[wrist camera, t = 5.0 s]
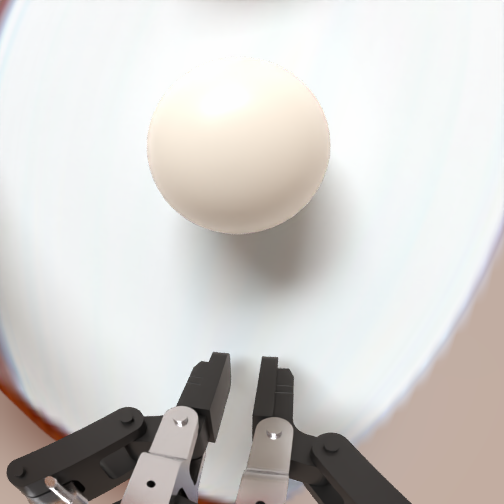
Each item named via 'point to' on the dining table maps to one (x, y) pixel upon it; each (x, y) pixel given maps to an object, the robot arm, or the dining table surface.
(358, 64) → the dining table surface
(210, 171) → the cue ball
